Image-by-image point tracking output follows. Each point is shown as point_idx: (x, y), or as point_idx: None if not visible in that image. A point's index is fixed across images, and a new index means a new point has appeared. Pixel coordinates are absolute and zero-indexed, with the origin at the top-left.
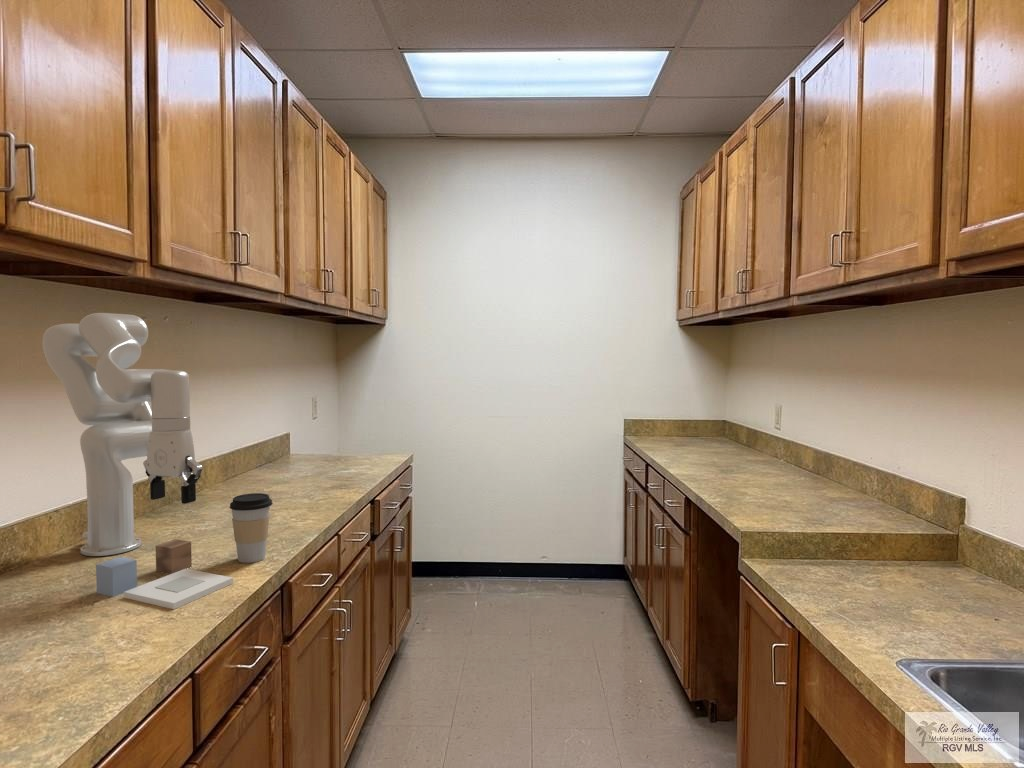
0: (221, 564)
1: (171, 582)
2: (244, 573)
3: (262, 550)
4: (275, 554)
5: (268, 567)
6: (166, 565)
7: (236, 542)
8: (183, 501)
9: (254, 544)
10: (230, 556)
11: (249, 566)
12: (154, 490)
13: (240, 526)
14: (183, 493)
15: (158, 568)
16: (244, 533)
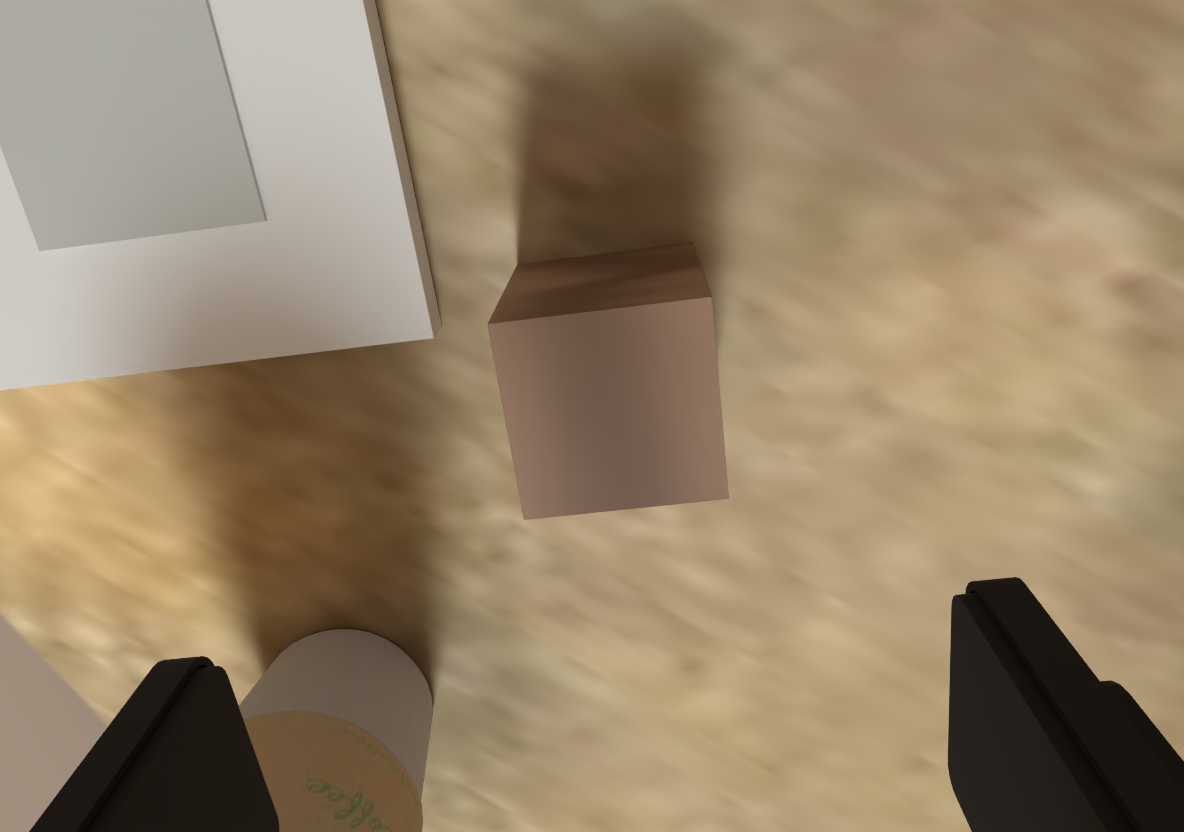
0: (417, 550)
1: (197, 92)
2: (123, 521)
3: None
4: None
5: (112, 650)
6: (571, 273)
7: (327, 715)
8: (144, 683)
9: None
10: (516, 664)
11: (226, 609)
12: (1027, 733)
13: None
14: (64, 804)
15: (666, 252)
16: None
